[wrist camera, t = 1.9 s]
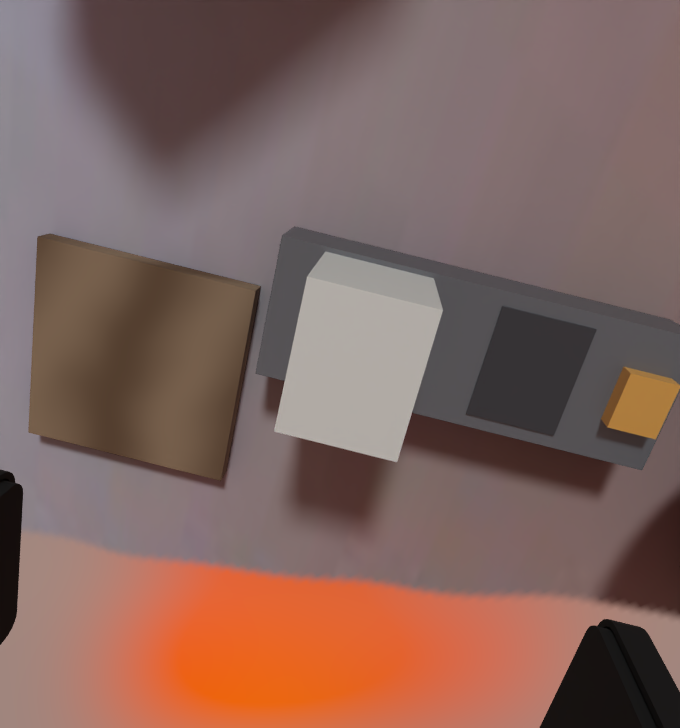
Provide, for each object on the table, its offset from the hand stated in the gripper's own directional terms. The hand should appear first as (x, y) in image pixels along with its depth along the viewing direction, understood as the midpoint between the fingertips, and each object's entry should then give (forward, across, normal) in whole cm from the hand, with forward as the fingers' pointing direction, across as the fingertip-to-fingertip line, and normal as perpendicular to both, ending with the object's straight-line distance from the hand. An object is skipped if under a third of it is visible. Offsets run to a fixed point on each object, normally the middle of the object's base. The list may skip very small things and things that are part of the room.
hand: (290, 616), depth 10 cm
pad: (+19, +10, +5) cm, 22 cm away
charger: (+18, 0, 0) cm, 18 cm away
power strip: (+19, -5, 0) cm, 19 cm away
